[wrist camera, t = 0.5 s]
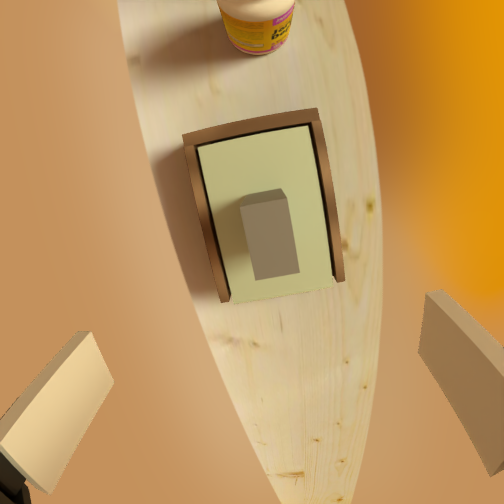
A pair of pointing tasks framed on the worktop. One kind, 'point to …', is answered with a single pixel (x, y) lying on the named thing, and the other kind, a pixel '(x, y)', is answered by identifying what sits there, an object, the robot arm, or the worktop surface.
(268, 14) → the supplement bottle
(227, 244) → the lid
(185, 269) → the worktop surface
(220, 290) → the box
